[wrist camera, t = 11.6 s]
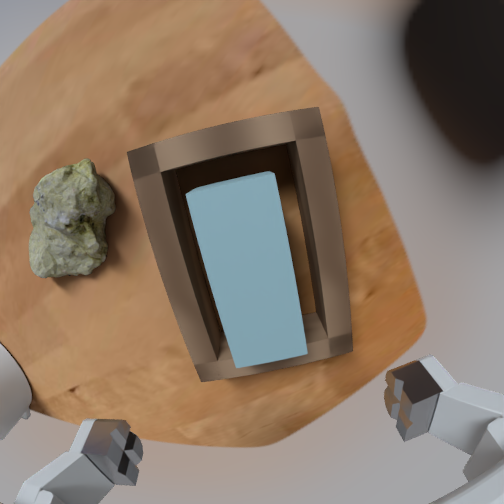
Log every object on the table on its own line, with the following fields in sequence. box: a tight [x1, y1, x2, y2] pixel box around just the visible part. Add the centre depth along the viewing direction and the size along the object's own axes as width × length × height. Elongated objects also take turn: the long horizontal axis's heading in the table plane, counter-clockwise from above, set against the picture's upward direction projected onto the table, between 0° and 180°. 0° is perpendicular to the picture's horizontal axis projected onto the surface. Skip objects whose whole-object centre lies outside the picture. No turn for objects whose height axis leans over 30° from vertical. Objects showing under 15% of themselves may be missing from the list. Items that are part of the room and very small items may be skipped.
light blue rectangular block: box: [186, 171, 308, 368], centre depth 20 cm, size 12×5×4 cm, turn 13°
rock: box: [29, 159, 116, 278], centre depth 21 cm, size 11×6×10 cm
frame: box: [127, 107, 353, 382], centre depth 23 cm, size 13×19×4 cm
